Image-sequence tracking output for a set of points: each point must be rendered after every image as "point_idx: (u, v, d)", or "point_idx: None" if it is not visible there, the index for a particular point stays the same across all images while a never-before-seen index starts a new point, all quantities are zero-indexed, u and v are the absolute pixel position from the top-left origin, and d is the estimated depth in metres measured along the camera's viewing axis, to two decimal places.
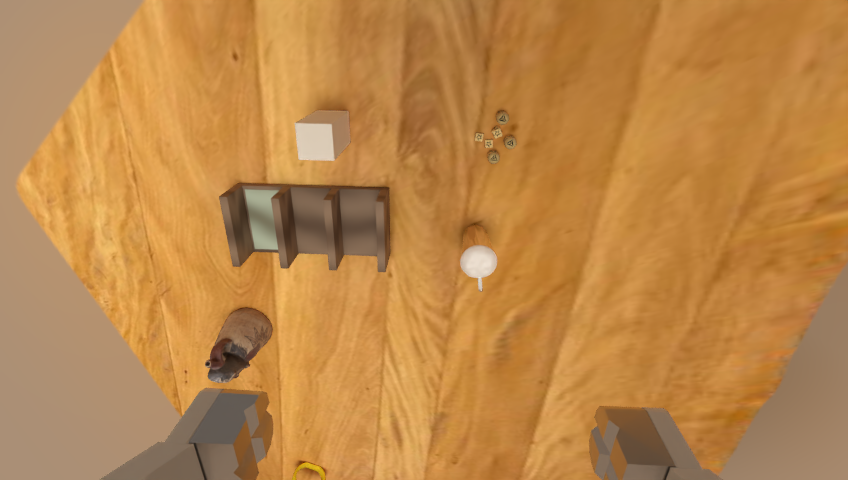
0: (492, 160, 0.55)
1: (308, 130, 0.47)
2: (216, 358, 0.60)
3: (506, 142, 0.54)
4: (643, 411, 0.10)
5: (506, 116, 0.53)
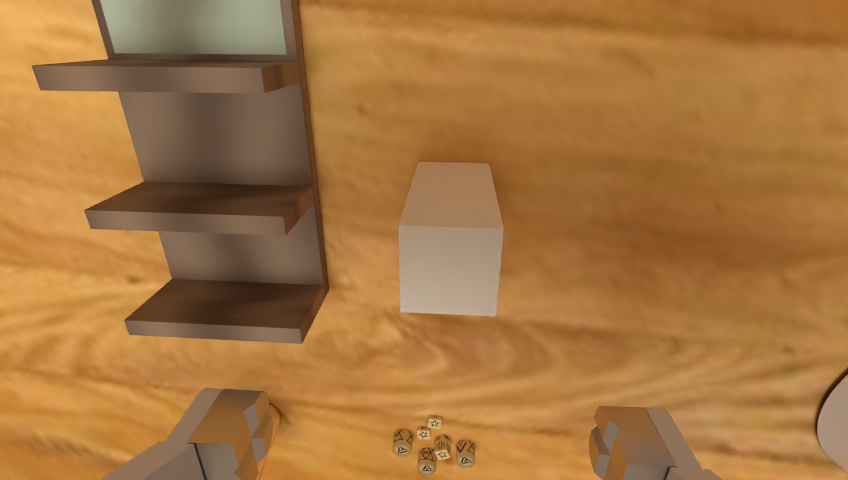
0: (398, 448, 0.33)
1: (481, 261, 0.17)
2: None
3: (427, 464, 0.34)
4: (643, 411, 0.10)
5: (468, 465, 0.33)
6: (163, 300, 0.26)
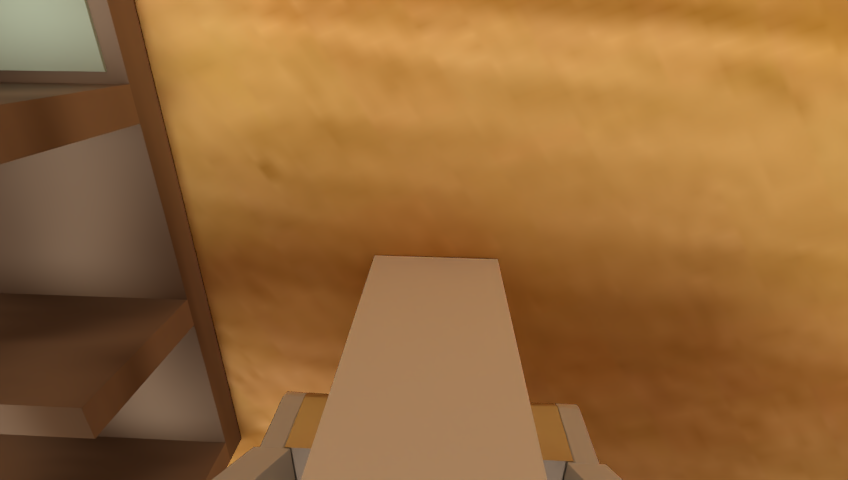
0: None
1: None
2: None
3: None
4: (555, 407, 0.10)
5: None
6: None
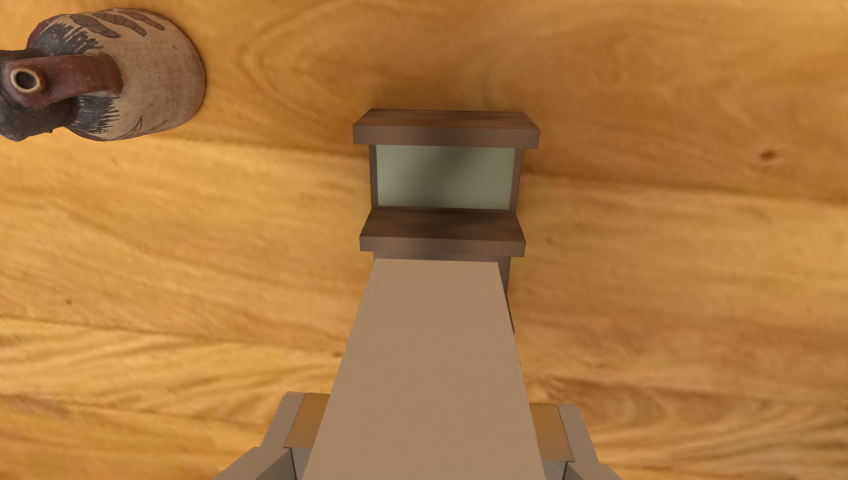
0: None
1: None
2: (50, 86, 0.19)
3: None
4: (555, 407, 0.10)
5: None
6: None
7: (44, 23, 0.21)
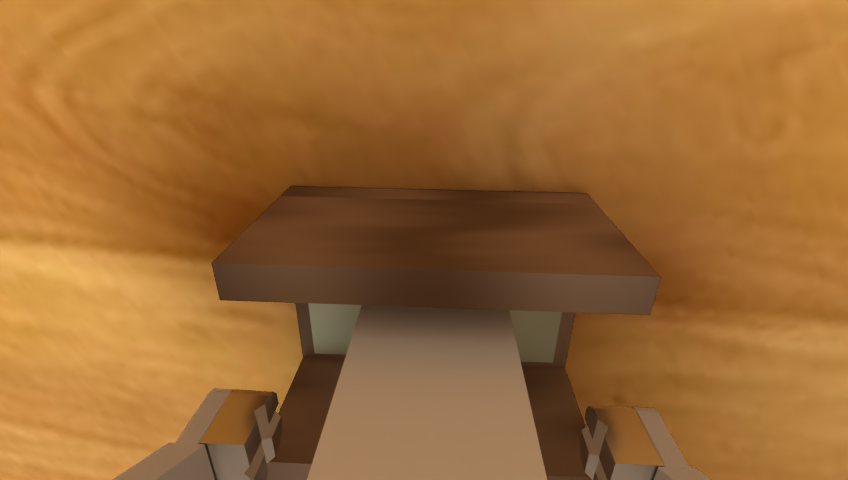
0: None
1: None
2: None
3: None
4: (633, 410, 0.10)
5: None
6: None
7: None
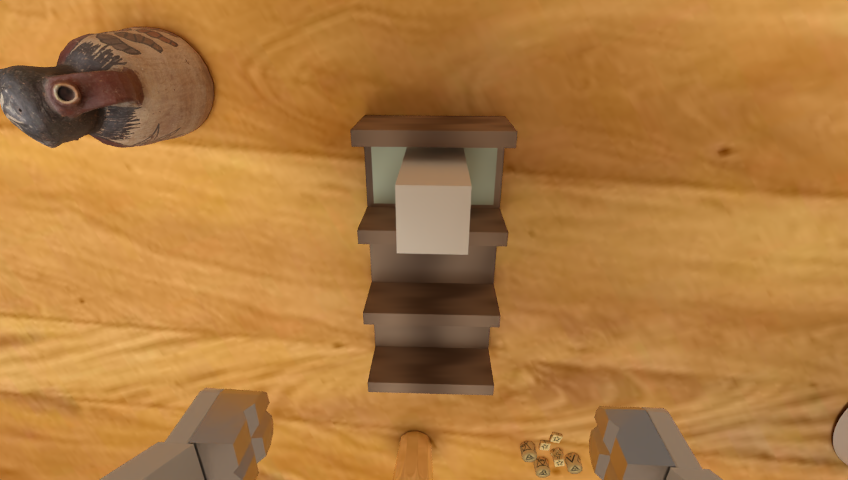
0: (527, 455, 0.43)
1: (456, 211, 0.23)
2: (83, 98, 0.21)
3: (545, 469, 0.44)
4: (643, 411, 0.10)
5: (576, 472, 0.44)
6: (382, 364, 0.36)
7: (74, 42, 0.23)
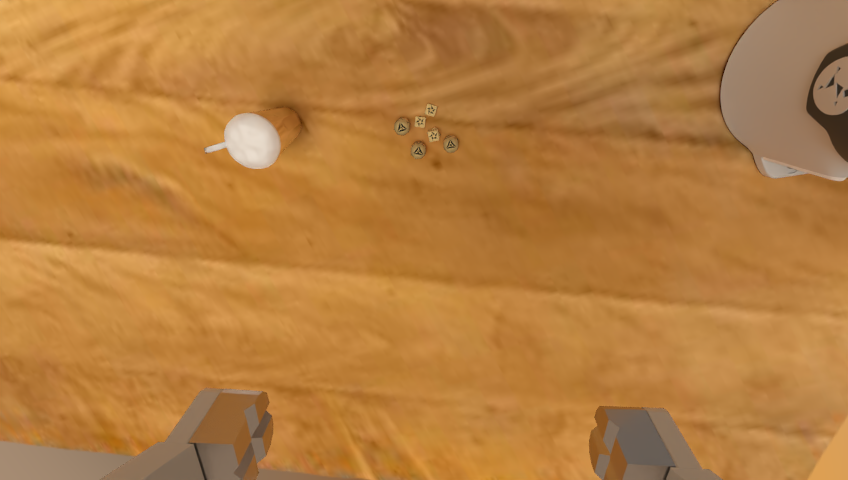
0: (399, 125, 0.41)
1: None
2: None
3: (420, 146, 0.42)
4: (643, 411, 0.10)
5: (452, 149, 0.42)
6: None
7: None
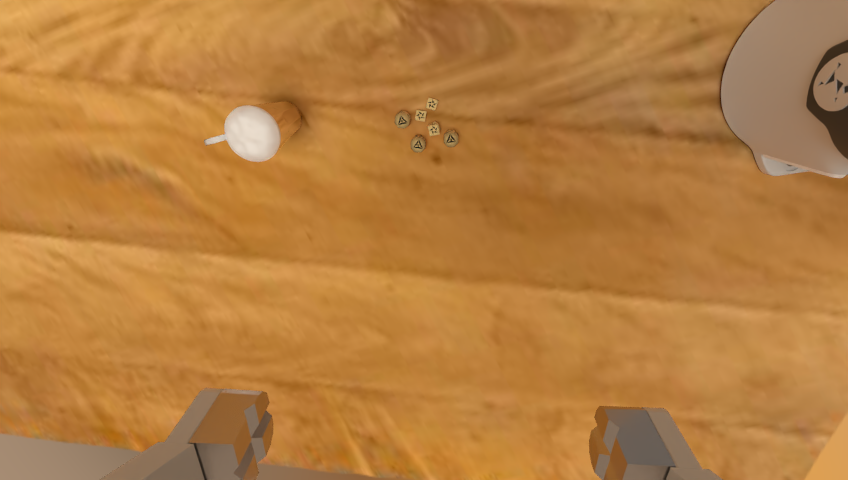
0: (399, 118, 0.41)
1: None
2: None
3: (420, 140, 0.42)
4: (644, 411, 0.10)
5: (452, 144, 0.42)
6: None
7: None
